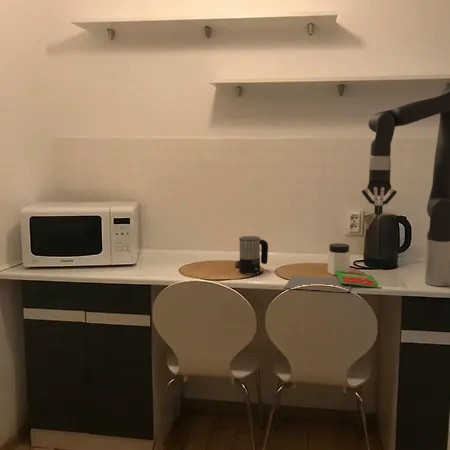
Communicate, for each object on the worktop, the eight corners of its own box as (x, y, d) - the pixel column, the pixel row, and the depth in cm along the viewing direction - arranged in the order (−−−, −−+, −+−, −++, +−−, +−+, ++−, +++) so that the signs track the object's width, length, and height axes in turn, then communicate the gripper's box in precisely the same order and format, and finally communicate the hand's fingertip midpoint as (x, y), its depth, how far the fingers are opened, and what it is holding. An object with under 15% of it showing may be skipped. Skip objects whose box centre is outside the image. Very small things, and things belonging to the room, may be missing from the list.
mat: (352, 280, 232) (352, 279, 232) (349, 293, 213) (349, 291, 213) (292, 276, 238) (292, 275, 238) (284, 289, 219) (284, 287, 219)
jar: (328, 275, 241) (328, 246, 240) (327, 270, 249) (328, 243, 248) (350, 275, 240) (351, 247, 238) (348, 271, 248) (349, 243, 246)
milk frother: (252, 275, 241) (252, 240, 239) (221, 270, 251) (221, 236, 249) (271, 269, 253) (271, 235, 250) (241, 264, 262) (241, 232, 260)
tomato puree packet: (341, 281, 221) (334, 270, 240) (340, 284, 221) (334, 272, 241) (382, 286, 220) (372, 274, 240) (381, 289, 220) (371, 277, 240)
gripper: (398, 168, 215) (396, 214, 218) (361, 167, 219) (360, 213, 222) (399, 169, 208) (397, 217, 211) (360, 168, 212) (359, 216, 214)
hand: (378, 215), depth 216 cm, fingers closed
